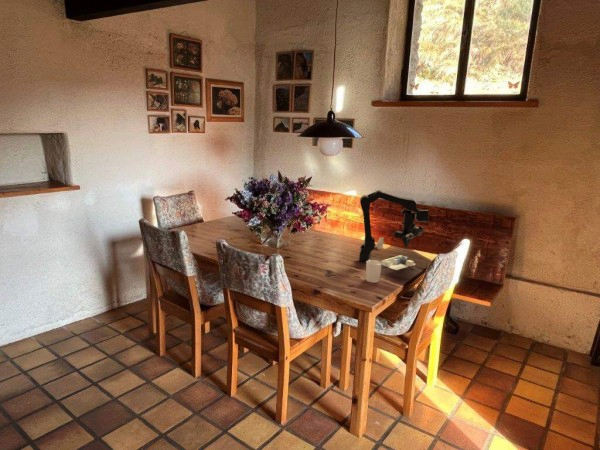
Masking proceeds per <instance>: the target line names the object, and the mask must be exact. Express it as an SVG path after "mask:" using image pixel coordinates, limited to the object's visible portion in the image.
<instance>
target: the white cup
mask: <svg viewBox="0 0 600 450" xmlns="http://www.w3.org/2000/svg"><path fill="white" fill-rule="evenodd" d="M365 266H366V267H365V273H366V274H365V275H366V277H365V279H366V282H368V283H373V284H374V283H378V282H380V279H381V272H382V271H381V270H382V266H383V265H382V262H381V261H380V260H377V259H371V260H368V261H366V263H365Z"/></svg>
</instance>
